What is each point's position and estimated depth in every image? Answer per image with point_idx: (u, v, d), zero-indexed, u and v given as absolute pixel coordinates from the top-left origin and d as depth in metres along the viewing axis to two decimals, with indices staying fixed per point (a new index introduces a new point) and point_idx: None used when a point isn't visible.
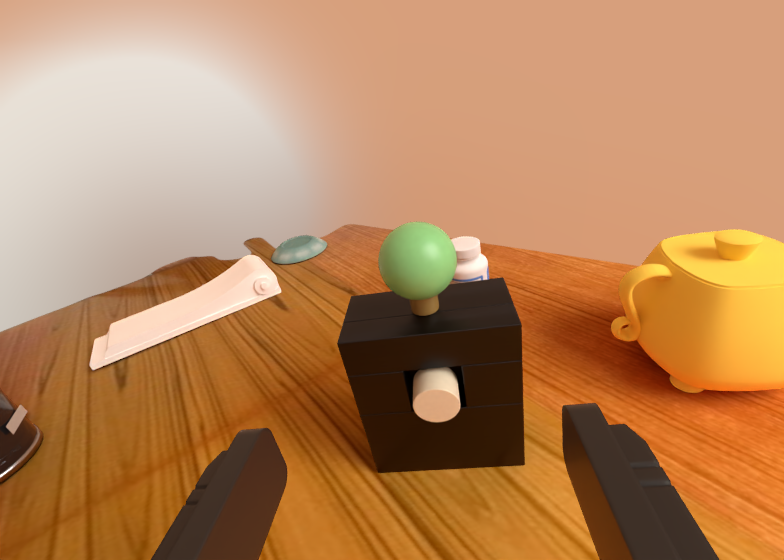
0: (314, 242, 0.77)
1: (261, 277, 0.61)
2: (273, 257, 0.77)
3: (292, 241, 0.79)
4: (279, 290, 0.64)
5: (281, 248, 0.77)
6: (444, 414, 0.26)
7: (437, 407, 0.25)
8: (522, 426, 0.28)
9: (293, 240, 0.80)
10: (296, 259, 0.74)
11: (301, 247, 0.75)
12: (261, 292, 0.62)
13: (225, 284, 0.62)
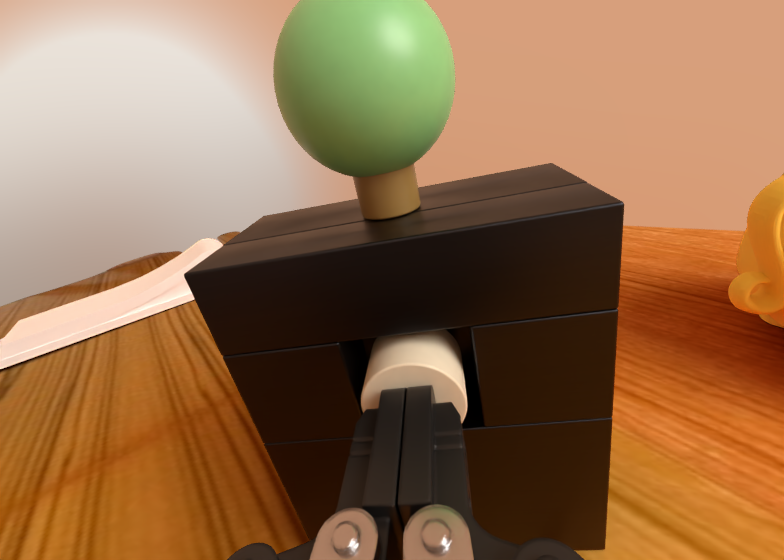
0: None
1: None
2: None
3: None
4: None
5: None
6: None
7: None
8: (606, 470, 0.13)
9: None
10: None
11: None
12: None
13: (169, 270, 0.49)
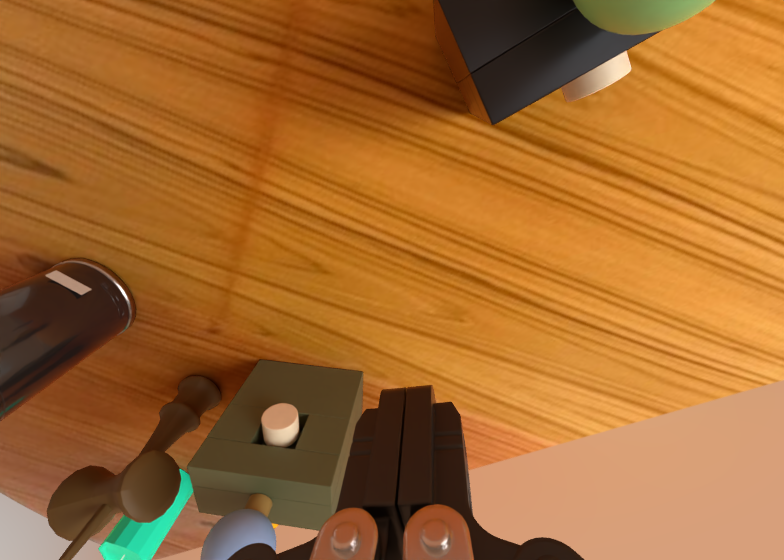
0: None
1: None
2: None
3: None
4: None
5: None
6: None
7: None
8: None
9: None
10: None
11: None
12: None
13: None
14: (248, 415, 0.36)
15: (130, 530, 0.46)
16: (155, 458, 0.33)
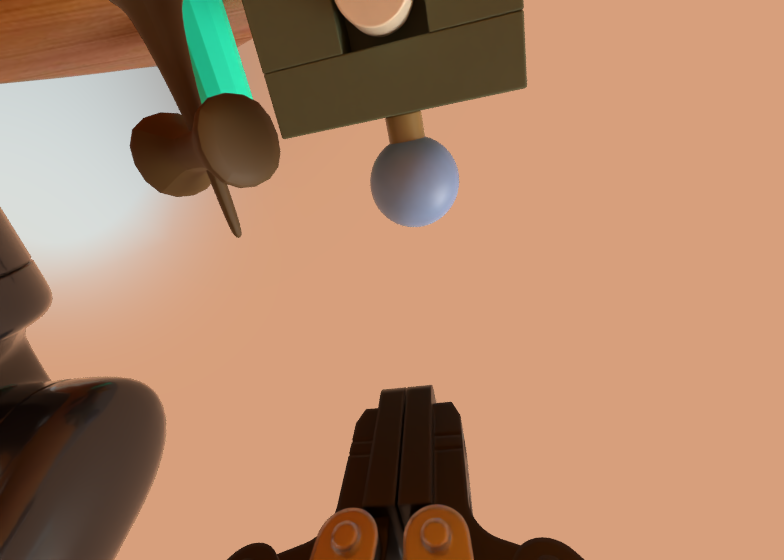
0: None
1: None
2: None
3: None
4: None
5: None
6: None
7: None
8: None
9: None
10: None
11: None
12: None
13: None
14: None
15: (213, 95, 0.39)
16: (214, 118, 0.21)
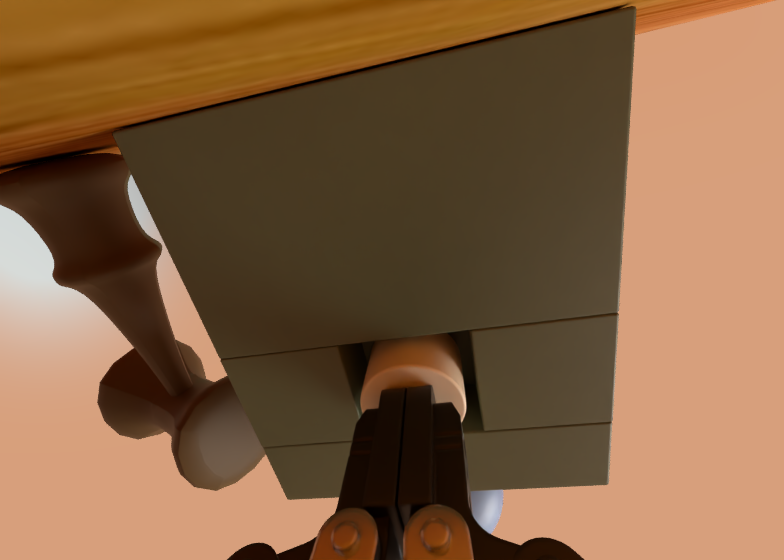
0: None
1: None
2: None
3: None
4: None
5: None
6: None
7: None
8: None
9: None
10: None
11: None
12: None
13: None
14: (301, 380, 0.12)
15: None
16: (200, 433, 0.17)
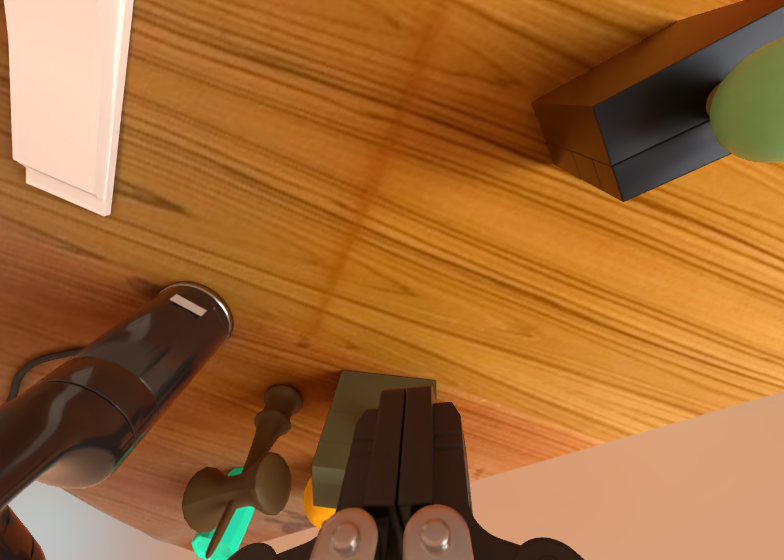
0: None
1: None
2: None
3: None
4: None
5: None
6: None
7: None
8: None
9: None
10: None
11: None
12: None
13: None
14: (349, 421, 0.41)
15: None
16: (274, 459, 0.38)
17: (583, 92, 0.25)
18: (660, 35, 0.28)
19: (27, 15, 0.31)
